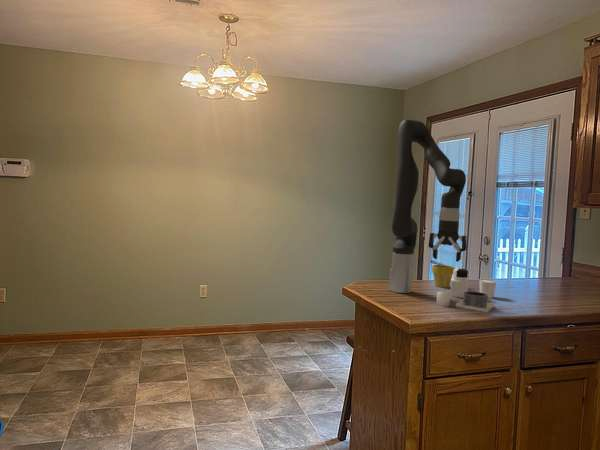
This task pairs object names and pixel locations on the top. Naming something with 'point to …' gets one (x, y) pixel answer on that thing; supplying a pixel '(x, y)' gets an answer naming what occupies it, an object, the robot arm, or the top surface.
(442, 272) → the plant pot
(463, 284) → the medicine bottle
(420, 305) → the top surface
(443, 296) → the cap
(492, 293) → the white cylinder
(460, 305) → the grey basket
